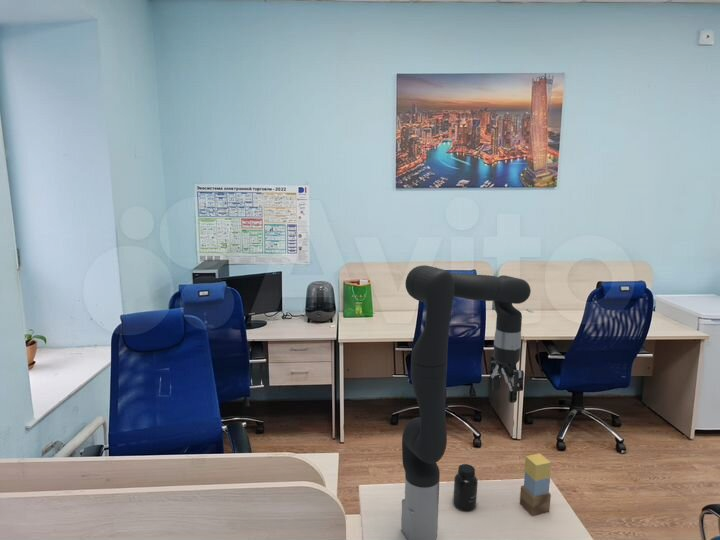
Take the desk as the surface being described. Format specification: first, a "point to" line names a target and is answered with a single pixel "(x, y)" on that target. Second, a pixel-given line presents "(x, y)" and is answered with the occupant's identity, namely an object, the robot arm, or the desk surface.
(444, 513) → the desk surface
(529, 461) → the top block
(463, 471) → the supplement bottle
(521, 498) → the tower base
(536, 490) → the tower mid
